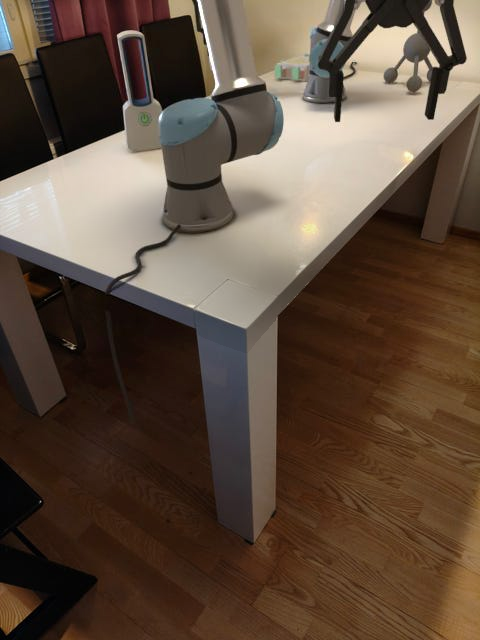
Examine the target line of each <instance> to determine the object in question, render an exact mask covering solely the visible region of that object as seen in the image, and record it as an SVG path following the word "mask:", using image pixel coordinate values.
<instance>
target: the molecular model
mask: <svg viewBox="0 0 480 640" xmlns="http://www.w3.org/2000/svg"><path fill="white" fill-rule="evenodd" d="M432 5H433V0H430V1H429V3H428V4H427V5H426V6H425V8H424V9H423V10H422V13H423V15H424V16H425V13H426V12H427V11H428V10H429V9H431V8H432ZM402 49H403V50H402V51H403V52H402V53H403V56H401V58H400V60H399V61H398V62H397V63H396V64H395V66H394V67H388V68H386V69H385V71H384V73H383V80H384V82H386V83H388V84H391V83H394V82H396V81H397V80H398V76H399V72H398V69H399V68H400V67H401V65H402V64H403V63H404V62H405V60H407V61H408V62H410V63H412V64H413V74H412V76H410V77H409V78H408V79H407V81H406V89H407V90H408V91H409V92H411V93H416V92H418V91H419V90H420V89H421V88H422V87H423V79H422V77H420V75H419V63H421V62H423V61H424V62H425V65H426V67H427V69H428V71H427V72H426V79H427V81H428V82H430V81H431V75H432V69H433V67H434V66H433V65H432V63H431V60H430V59H429V54H430V52H431V51H430V49H429V47H428V46H427V44H426V42H425V41H424V39H423V38H422V36H421V34H420V33H419V31H418V30H416V33H413V34H411V35H409V37H407V39H406V40H405V42H404V44H403V48H402Z"/></svg>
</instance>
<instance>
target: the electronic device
mask: <svg viewBox="0 0 480 640" xmlns="http://www.w3.org/2000/svg"><path fill="white" fill-rule="evenodd" d="M116 38H117V44H118V49H119V50H118V51H119V55H120V61H121V67H122V72H123V77H124V84H125V89H126V95H127V100H126V101H125V103H123V105H122V113H123V114H122V115H123V124H124V125H123V126H124V135H125V143H126V146H127V147H126V148H127V149H128V150H129V151H130V152H132V153H133V152H134V153H135V152H143V151H148V150H156V149H162V148H161V142H160V140H159V117H160V115H161V113H162V112H163V108H162V106H161V103H160V102H159V101H158V100H157V99H156V98H154V93H153V87H152V86H153V85H152V79H151V71H150V66H149V60H148V52H147V51H148V50H147V46H146V39H145V35H144V34H143V33H142V32H140V31H138V30H131V29H130V30H124V31H121V32H120V33H118V34H116ZM134 39H135V40H137V41H138V49H139V54H140V58H141V59H140V60H141V66H142V75H143V78H144V80H143V81H144V87H145V92H146V97H145V98H141V99H136V98H134V93H133V87H132V80H131V75H130V68H129V64H128V58H127V52H126V45H125V41H127V40H134Z"/></svg>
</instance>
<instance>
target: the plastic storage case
mask: <svg viewBox="0 0 480 640" xmlns="http://www.w3.org/2000/svg"><path fill="white" fill-rule="evenodd" d="M309 56H310V54H309V53H304V55H301V56H294V57H292V58H289V59H283V58H282V59H280V62H277V63H276V64H275V65H274V78H275V79H283V80H291V81H302V82H307V81H308V78H309V71H310V62H309Z"/></svg>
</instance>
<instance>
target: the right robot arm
mask: <svg viewBox="0 0 480 640" xmlns="http://www.w3.org/2000/svg"><path fill="white" fill-rule="evenodd" d="M191 1H192V4H193V7H194V18H195V25H196V32H197V33H201V34H202V41H203V45H204V46H206V49H207V50H206V51H207V57H209V51H208V46H207V42H206V37H205V33H204V28H203V27H202V19H201V14H200V10H199V5H198V1H197V0H191ZM343 3H344V0H329V2H328V6H327V9H326V13H325V17H324V20H323V21H322V22H320V23H319V24H318V25H317V27H313V28H311V30H310V36H309V39H310V42H309V44H310V47H309V55H310V56H309V62H310V71H309V78H308V80H307V81H306V84H305V88H304V92H303V100H304V101H306V102H310V103H314V104H315V103H316V104H330V103H331V104H332V103H335V97H330V96H329V93H328V86H329V72H328V71H326V70H323V69H319V67H318V64H317V60H318V58H319V56H320V54H321V52H322V50H323V48H324V46H325V44H326V42H327V40H328V37H329V35H330V33H331V31H332V29H333V27H334V25H335V23H336V21H337V19H338V17H339V15H340V13H341V11H342V9H343ZM356 11H357V10H353V13H352V15H351V18H350V20H349V22H348V24H347V26H346V28H345V30H344V32H343V34H342V36H341V38H340V40H339V42H338V44H337V46H336V48H335V50H334V52H333V54H332V56H331V58H330V60H331V61H333V59H334V58H335V57H336V56H337V54H338V53H339V52H340V51H341V50H342V48H343V47H344V46H345V45H346V43H347V42H348V41H349V40H350V38H351V37H352V36H353V35H354V33H353V32H352V29H351V27H352V23H353V20H354V17H355V14H356ZM354 64H355V65H357V61H356V62H353V61H352V62H351V63H350V65H349V68H351V69H352V72H351V73H350V74H347V75H344V78H343V80H345V79H347V78H349V77H352V76H353V75H355V73H356V68H355V67H354V66H353V65H354ZM345 66H346V63H345V64H344V65H343V67H342V68H341V69H340V70H339V71H343V69H344V67H345ZM345 98H346V88H345V85H344V83H343V91H342V101H343V100H345Z"/></svg>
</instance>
